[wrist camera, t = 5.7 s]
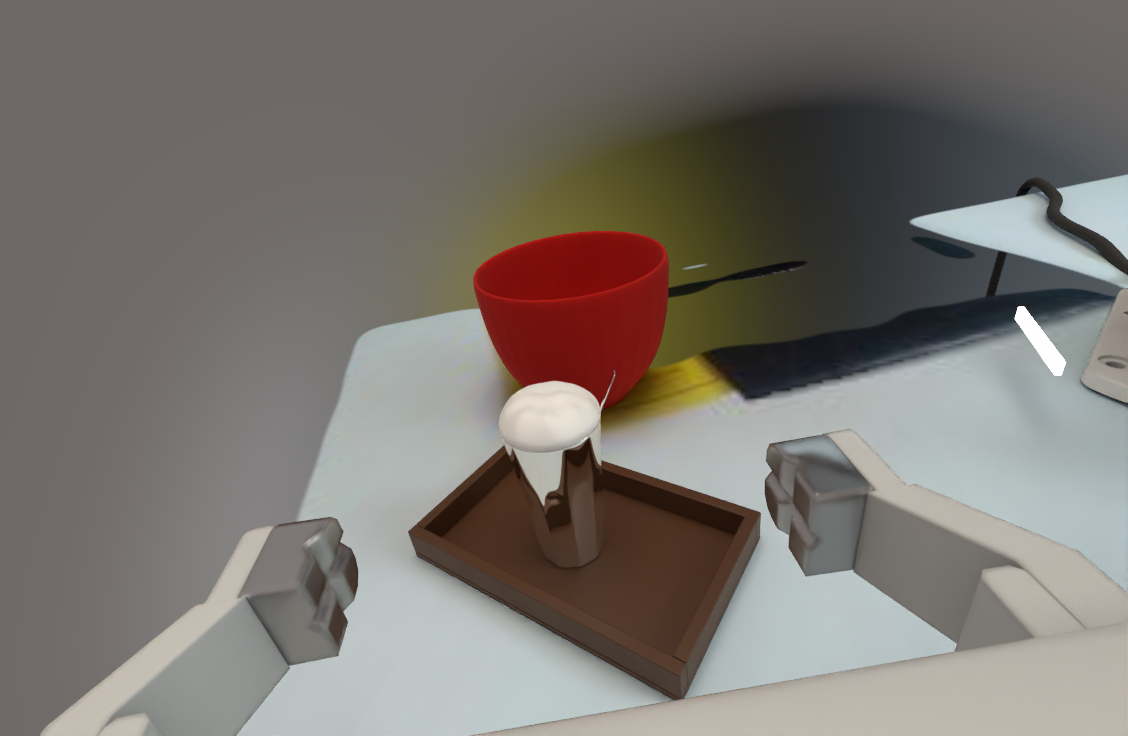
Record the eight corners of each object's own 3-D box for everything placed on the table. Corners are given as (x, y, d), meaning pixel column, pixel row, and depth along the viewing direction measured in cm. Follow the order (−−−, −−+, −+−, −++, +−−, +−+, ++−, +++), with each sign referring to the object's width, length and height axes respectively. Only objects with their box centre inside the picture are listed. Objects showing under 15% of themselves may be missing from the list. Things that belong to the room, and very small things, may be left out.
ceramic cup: (570, 320, 52) (555, 215, 47) (712, 382, 40) (711, 248, 35) (449, 375, 46) (416, 262, 41) (571, 468, 34) (545, 322, 29)
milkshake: (633, 579, 26) (613, 403, 21) (522, 580, 27) (477, 412, 22) (633, 509, 30) (616, 346, 25) (536, 512, 31) (500, 355, 26)
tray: (522, 454, 36) (517, 432, 35) (759, 538, 27) (761, 512, 26) (416, 555, 29) (407, 531, 29) (681, 703, 21) (679, 676, 20)
